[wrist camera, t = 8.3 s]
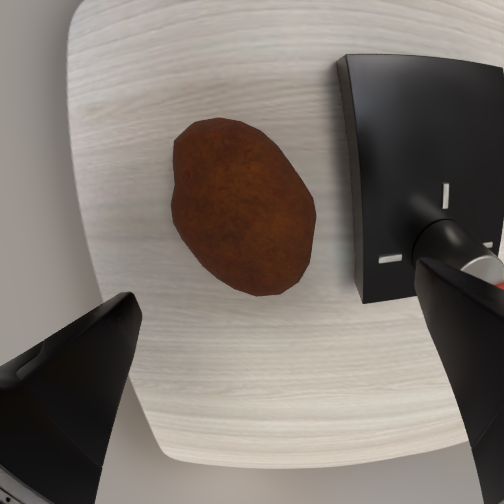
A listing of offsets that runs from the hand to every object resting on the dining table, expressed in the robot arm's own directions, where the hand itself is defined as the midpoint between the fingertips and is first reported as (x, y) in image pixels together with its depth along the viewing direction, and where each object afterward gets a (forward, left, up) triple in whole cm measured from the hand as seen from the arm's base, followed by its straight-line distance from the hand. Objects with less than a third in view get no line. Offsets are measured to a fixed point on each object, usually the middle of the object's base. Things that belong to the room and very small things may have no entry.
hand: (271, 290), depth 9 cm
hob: (0, +10, -10) cm, 14 cm away
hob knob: (+4, +9, -7) cm, 13 cm away
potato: (0, -1, -10) cm, 10 cm away
